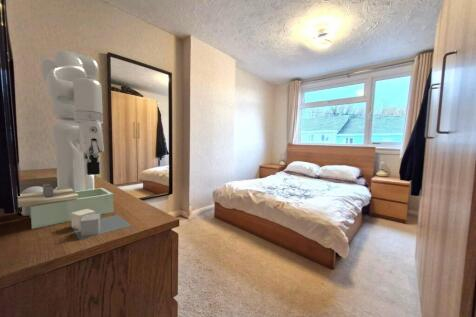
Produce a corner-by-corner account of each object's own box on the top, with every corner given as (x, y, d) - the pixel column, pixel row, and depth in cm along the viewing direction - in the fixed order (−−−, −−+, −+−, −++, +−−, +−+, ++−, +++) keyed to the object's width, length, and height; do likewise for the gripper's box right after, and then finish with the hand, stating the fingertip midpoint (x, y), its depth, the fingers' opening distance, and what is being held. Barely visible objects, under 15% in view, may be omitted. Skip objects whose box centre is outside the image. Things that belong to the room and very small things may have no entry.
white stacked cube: (81, 173, 68) (81, 158, 68) (97, 172, 71) (97, 158, 71) (84, 175, 65) (84, 159, 65) (101, 173, 68) (100, 158, 68)
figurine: (78, 207, 74) (77, 165, 73) (79, 200, 82) (77, 163, 80) (102, 203, 78) (101, 164, 77) (101, 197, 86) (100, 162, 85)
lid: (17, 197, 61) (17, 185, 61) (71, 191, 70) (70, 180, 70) (18, 207, 52) (17, 193, 52) (78, 198, 62) (78, 186, 61)
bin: (29, 218, 63) (28, 197, 62) (103, 204, 77) (102, 187, 77) (32, 230, 55) (30, 206, 54) (113, 212, 69) (113, 193, 69)
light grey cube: (84, 229, 55) (84, 215, 55) (100, 227, 56) (100, 213, 56) (81, 236, 51) (80, 221, 51) (98, 234, 53) (97, 219, 52)
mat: (70, 226, 58) (70, 225, 58) (117, 215, 66) (117, 214, 66) (79, 241, 50) (79, 239, 49) (132, 226, 58) (132, 225, 58)
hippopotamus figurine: (72, 209, 72) (70, 184, 71) (19, 219, 62) (18, 190, 61) (67, 204, 76) (66, 181, 76) (18, 213, 67) (16, 186, 66)
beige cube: (71, 226, 57) (71, 212, 56) (87, 221, 60) (87, 208, 60) (79, 230, 55) (78, 215, 54) (95, 224, 58) (95, 211, 58)
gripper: (110, 117, 64) (112, 175, 65) (95, 121, 76) (97, 170, 77) (80, 114, 59) (83, 178, 60) (69, 119, 70) (72, 172, 71)
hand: (91, 173), depth 68 cm, fingers closed on white stacked cube, 4 cm apart
